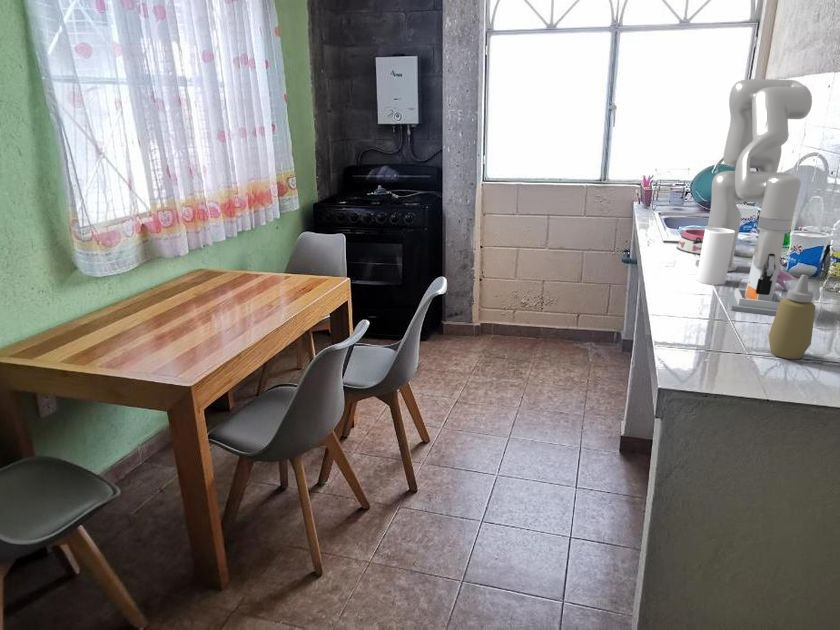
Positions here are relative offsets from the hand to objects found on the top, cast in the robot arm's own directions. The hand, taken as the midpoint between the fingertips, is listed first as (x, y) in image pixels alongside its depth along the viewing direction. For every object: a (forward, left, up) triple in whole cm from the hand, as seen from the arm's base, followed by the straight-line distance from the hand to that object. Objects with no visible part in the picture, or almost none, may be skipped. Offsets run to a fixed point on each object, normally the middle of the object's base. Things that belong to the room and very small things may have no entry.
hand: (760, 289), depth 163 cm
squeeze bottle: (+36, +1, -5) cm, 37 cm away
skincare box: (0, 0, -4) cm, 4 cm away
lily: (-21, +6, -5) cm, 23 cm away
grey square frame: (0, 0, -5) cm, 5 cm away
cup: (-22, -10, -5) cm, 24 cm away
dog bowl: (-68, -9, -5) cm, 69 cm away
